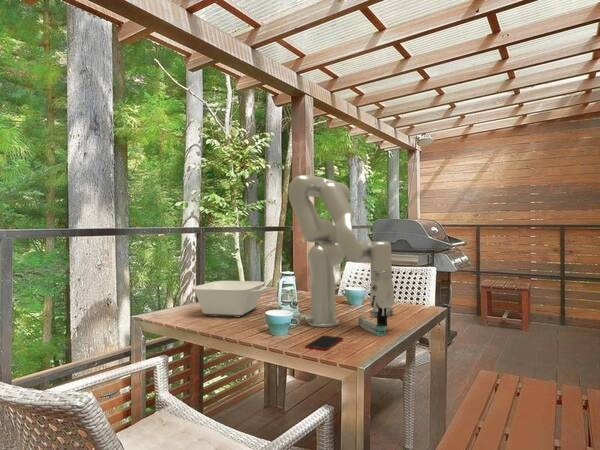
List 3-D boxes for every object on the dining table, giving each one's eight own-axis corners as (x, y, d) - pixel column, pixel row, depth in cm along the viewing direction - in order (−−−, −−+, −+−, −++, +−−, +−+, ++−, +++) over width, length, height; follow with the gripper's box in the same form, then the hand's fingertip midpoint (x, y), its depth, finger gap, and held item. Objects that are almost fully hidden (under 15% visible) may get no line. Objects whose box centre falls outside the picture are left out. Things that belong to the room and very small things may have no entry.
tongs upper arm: (361, 323, 159) (361, 319, 159) (367, 322, 160) (367, 318, 160) (379, 331, 146) (379, 326, 146) (385, 330, 147) (385, 326, 147)
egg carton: (380, 313, 186) (380, 303, 186) (395, 315, 181) (395, 305, 181) (368, 317, 177) (367, 307, 177) (384, 319, 173) (383, 309, 173)
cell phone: (343, 340, 144) (343, 337, 143) (326, 352, 130) (326, 349, 130) (323, 337, 147) (323, 335, 147) (304, 349, 134) (304, 346, 134)
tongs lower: (357, 325, 162) (357, 317, 162) (363, 325, 163) (363, 316, 163) (378, 336, 146) (378, 326, 146) (385, 335, 147) (385, 326, 147)
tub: (181, 318, 182) (181, 288, 182) (210, 306, 208) (209, 280, 208) (254, 321, 174) (254, 290, 174) (275, 308, 199) (274, 281, 199)
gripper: (380, 278, 144) (381, 331, 144) (400, 274, 156) (401, 323, 156) (361, 277, 149) (362, 328, 149) (382, 272, 161) (383, 320, 161)
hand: (382, 325), depth 153 cm, fingers closed
